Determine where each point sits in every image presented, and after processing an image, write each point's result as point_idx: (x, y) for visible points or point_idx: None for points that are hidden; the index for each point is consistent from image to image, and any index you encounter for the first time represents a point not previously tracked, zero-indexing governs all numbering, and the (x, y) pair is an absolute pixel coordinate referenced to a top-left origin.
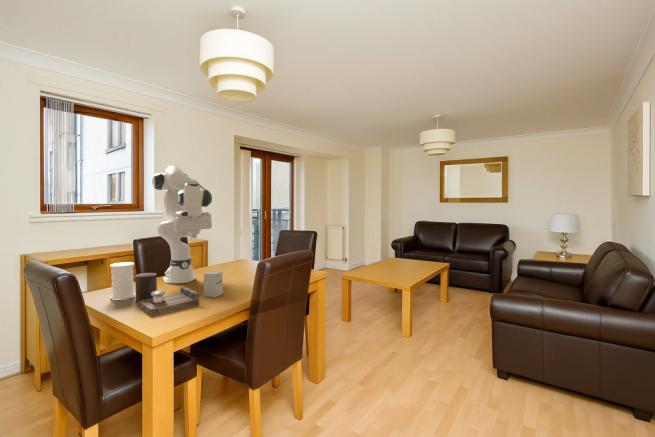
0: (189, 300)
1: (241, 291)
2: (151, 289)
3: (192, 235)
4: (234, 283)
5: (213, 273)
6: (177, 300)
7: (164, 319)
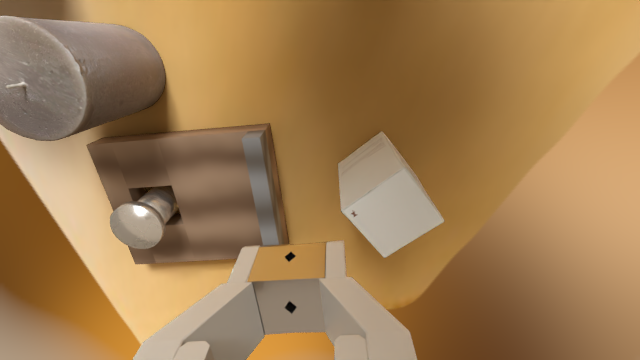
0: None
1: (488, 187)
2: (112, 120)
3: (260, 326)
4: (568, 26)
5: (382, 238)
6: (219, 226)
7: (179, 292)
